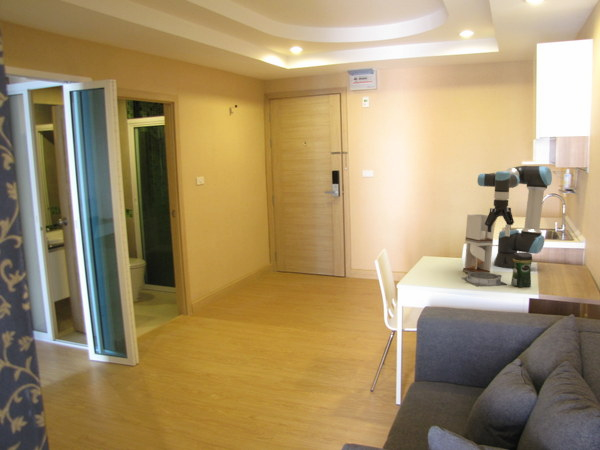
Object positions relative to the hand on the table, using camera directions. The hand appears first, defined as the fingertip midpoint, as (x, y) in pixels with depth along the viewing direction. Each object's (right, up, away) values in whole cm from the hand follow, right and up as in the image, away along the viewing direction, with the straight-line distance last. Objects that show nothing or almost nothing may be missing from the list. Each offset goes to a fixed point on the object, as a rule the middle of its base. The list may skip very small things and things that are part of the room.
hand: (498, 237), depth 282 cm
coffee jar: (+11, -27, -4) cm, 29 cm away
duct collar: (-7, -25, +4) cm, 27 cm away
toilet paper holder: (-4, -22, +23) cm, 33 cm away
